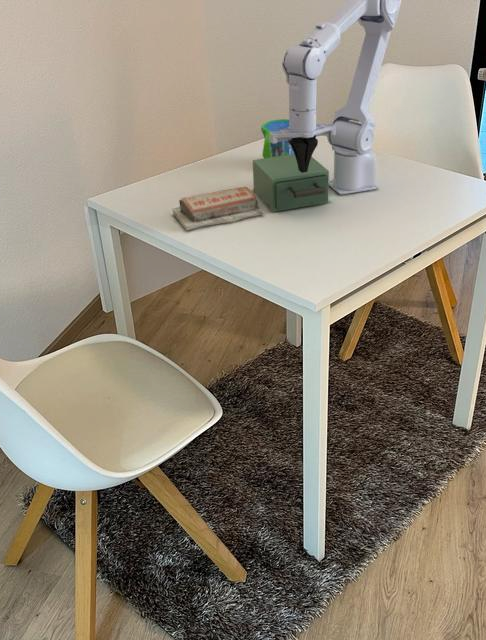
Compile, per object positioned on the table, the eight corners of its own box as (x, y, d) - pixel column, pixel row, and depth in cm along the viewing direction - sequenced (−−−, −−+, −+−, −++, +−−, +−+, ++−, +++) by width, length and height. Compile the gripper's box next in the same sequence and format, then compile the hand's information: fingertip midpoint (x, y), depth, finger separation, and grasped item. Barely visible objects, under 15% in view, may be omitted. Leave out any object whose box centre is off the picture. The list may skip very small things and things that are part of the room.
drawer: (336, 208, 162) (337, 184, 159) (284, 217, 159) (283, 192, 155) (307, 182, 175) (307, 159, 172) (259, 190, 172) (258, 166, 169)
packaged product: (244, 180, 167) (262, 195, 159) (245, 200, 169) (262, 216, 162) (169, 194, 161) (184, 210, 153) (172, 215, 163) (186, 232, 156)
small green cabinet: (328, 202, 167) (328, 170, 163) (272, 212, 164) (271, 179, 159) (306, 182, 178) (306, 152, 173) (253, 190, 174) (252, 159, 170)
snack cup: (280, 177, 181) (279, 137, 175) (248, 169, 186) (246, 129, 181) (317, 159, 191) (317, 120, 185) (285, 152, 196) (285, 114, 191)
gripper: (276, 117, 147) (278, 182, 154) (342, 108, 150) (340, 172, 158) (265, 108, 152) (267, 171, 160) (328, 100, 156) (327, 161, 164)
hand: (302, 170), depth 159 cm, fingers closed
